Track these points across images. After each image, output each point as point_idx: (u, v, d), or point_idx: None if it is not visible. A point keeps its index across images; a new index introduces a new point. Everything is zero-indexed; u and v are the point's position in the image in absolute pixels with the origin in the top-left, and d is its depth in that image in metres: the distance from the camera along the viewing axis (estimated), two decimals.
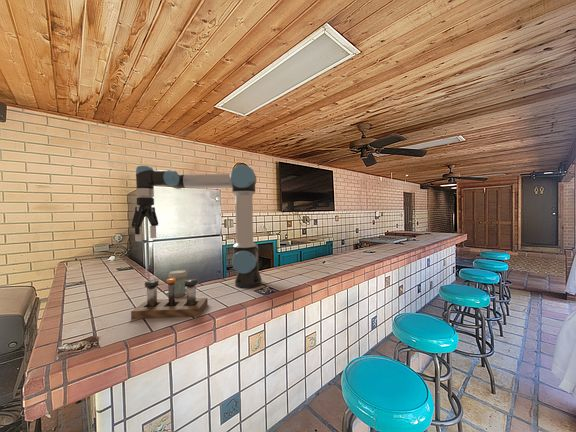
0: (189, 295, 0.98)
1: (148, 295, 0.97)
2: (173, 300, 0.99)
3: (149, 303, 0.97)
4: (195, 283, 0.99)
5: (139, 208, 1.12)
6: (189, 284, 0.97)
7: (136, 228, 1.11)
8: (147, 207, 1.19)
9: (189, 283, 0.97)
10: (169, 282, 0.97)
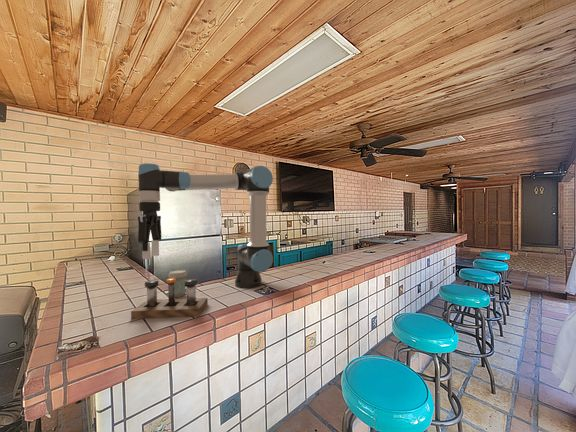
0: (189, 295, 0.98)
1: (148, 295, 0.97)
2: (173, 300, 0.99)
3: (149, 303, 0.97)
4: (195, 283, 0.99)
5: (143, 219, 0.92)
6: (189, 284, 0.97)
7: (144, 244, 0.93)
8: (152, 213, 0.98)
9: (189, 283, 0.97)
10: (169, 282, 0.97)
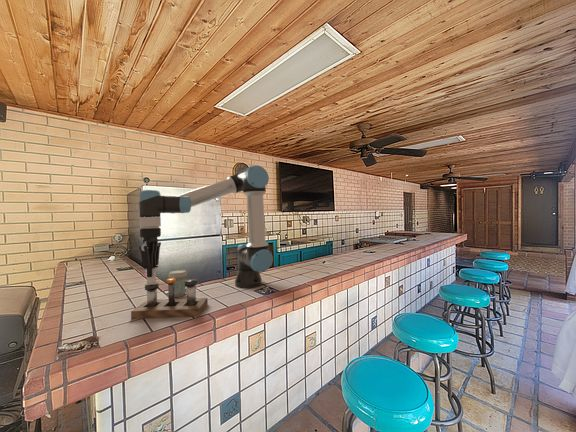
0: (189, 295, 0.98)
1: (148, 298, 0.97)
2: (173, 300, 0.99)
3: (149, 306, 0.97)
4: (195, 283, 0.99)
5: (144, 249, 0.92)
6: (189, 284, 0.97)
7: (148, 270, 0.96)
8: (152, 239, 0.98)
9: (189, 283, 0.97)
10: (169, 282, 0.97)
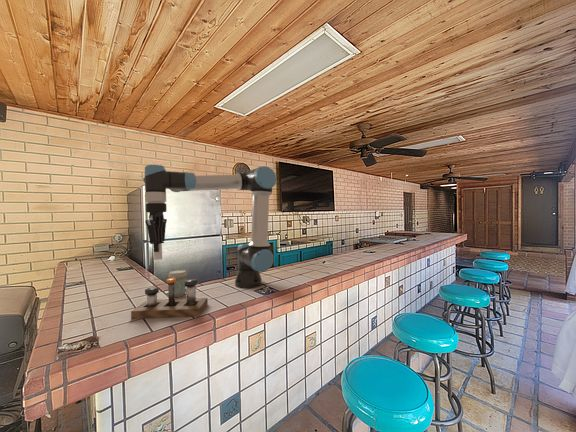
0: (189, 295, 0.98)
1: (148, 302, 0.97)
2: (173, 300, 0.99)
3: None
4: (195, 283, 0.99)
5: (151, 223, 0.92)
6: (189, 284, 0.97)
7: (155, 245, 0.97)
8: (158, 215, 0.98)
9: (189, 283, 0.97)
10: (169, 282, 0.97)
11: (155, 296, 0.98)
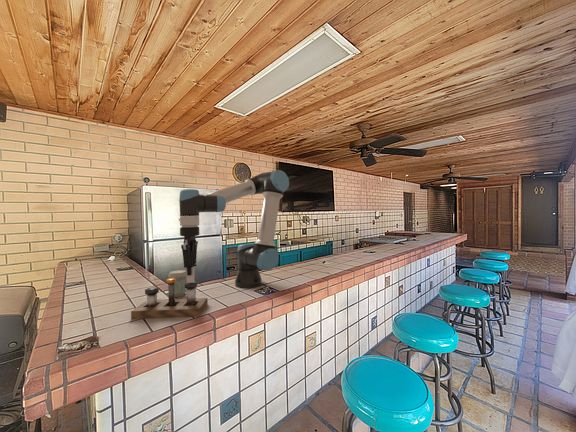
0: (189, 297, 0.98)
1: (148, 302, 0.97)
2: (173, 300, 0.99)
3: None
4: (195, 285, 0.99)
5: (186, 247, 0.93)
6: (189, 286, 0.97)
7: (188, 268, 0.97)
8: (192, 238, 0.99)
9: (189, 285, 0.97)
10: (169, 282, 0.97)
11: (155, 296, 0.98)
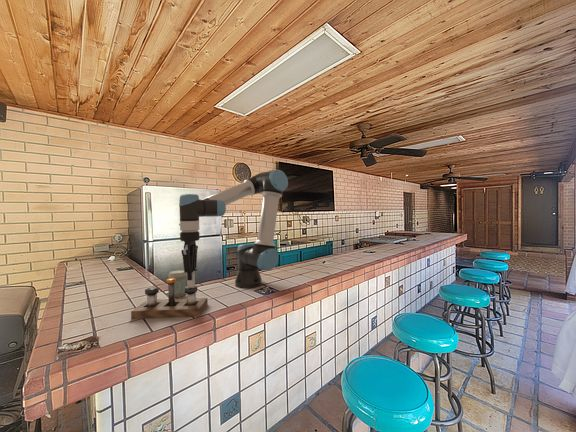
0: (190, 302, 0.98)
1: (148, 302, 0.97)
2: (173, 300, 0.99)
3: None
4: (195, 290, 0.99)
5: (186, 252, 0.93)
6: (189, 291, 0.97)
7: (189, 273, 0.97)
8: (192, 243, 0.99)
9: (189, 290, 0.97)
10: (169, 282, 0.97)
11: (155, 296, 0.98)
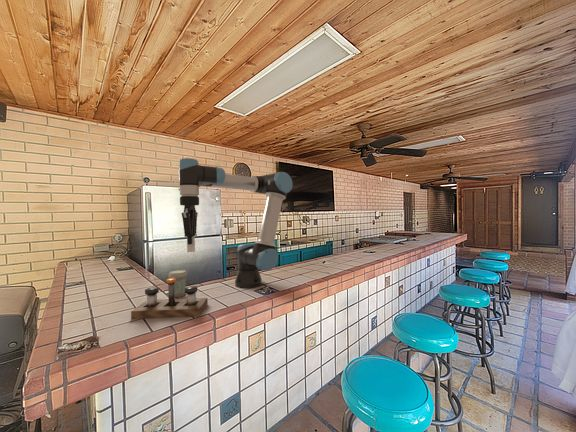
0: (190, 302, 0.98)
1: (148, 302, 0.97)
2: (173, 300, 0.99)
3: None
4: (195, 290, 0.99)
5: (186, 215, 0.94)
6: (189, 291, 0.97)
7: (189, 237, 0.98)
8: (192, 208, 1.00)
9: (189, 290, 0.97)
10: (169, 282, 0.97)
11: (155, 296, 0.98)
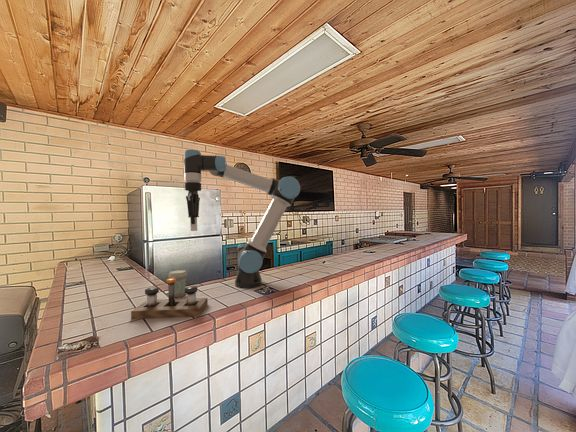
0: (190, 302, 0.98)
1: (148, 302, 0.97)
2: (173, 300, 0.99)
3: None
4: (195, 290, 0.99)
5: (190, 198, 1.10)
6: (189, 291, 0.97)
7: (192, 218, 1.14)
8: (195, 192, 1.15)
9: (189, 290, 0.97)
10: (169, 282, 0.97)
11: (155, 296, 0.98)
